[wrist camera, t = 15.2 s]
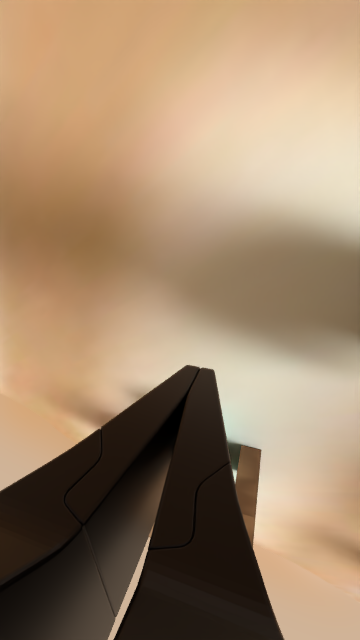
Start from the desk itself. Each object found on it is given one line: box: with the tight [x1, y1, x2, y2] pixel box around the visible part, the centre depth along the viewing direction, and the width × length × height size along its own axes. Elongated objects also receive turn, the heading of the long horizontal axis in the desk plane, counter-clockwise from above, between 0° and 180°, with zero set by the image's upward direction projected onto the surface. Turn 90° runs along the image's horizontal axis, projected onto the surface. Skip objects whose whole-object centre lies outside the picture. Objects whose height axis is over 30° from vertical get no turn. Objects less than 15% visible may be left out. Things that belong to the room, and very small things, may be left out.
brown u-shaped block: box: [149, 445, 261, 547], centre depth 26 cm, size 10×4×8 cm, turn 91°
